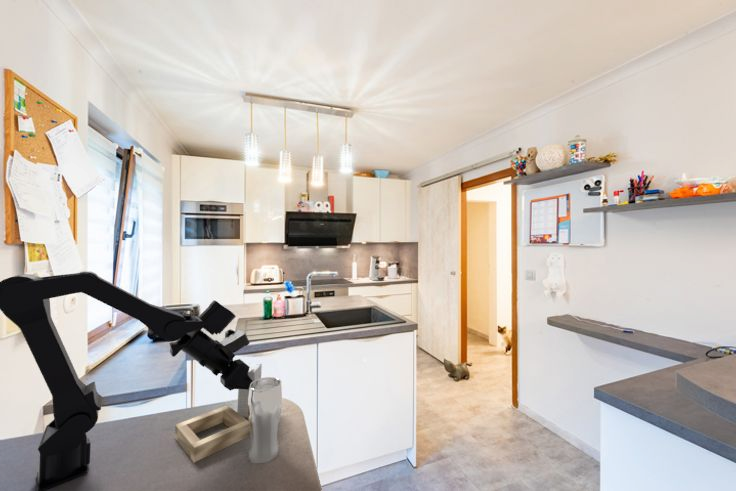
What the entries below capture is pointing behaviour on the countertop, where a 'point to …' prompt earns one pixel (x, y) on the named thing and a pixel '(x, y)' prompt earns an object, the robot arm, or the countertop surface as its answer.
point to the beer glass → (264, 418)
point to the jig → (215, 442)
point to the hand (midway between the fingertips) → (248, 381)
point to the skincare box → (243, 393)
